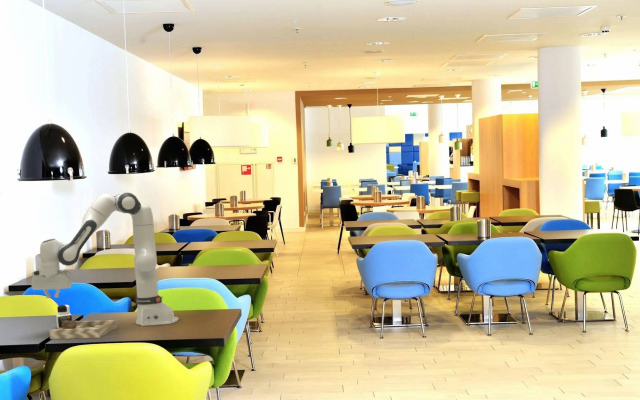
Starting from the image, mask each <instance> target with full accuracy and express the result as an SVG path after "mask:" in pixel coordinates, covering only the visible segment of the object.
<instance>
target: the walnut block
mask: <svg viewBox="0 0 640 400" xmlns="http://www.w3.org/2000/svg"><path fill="white" fill-rule="evenodd" d="M76 321H77V320H73V319H72V321H65V322H63V323H62V329H76Z"/></svg>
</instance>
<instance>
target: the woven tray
mask: <svg viewBox="0 0 640 400" xmlns="http://www.w3.org/2000/svg"><path fill="white" fill-rule="evenodd" d="M116 325H117V324H116V320H115V319H113V320H111V319H109V320H108V319H107V320H76V329H58V328H57V329H52V328H51V329H49V331H48V332H49V339H50V340H59V339H60V340H65V339H68V340H70V338H71V339H97V338H98V339H99V338H101V337H104V336H105V335H107V334H109V333H111V332H113V331H114V330H116V329H117V326H116Z"/></svg>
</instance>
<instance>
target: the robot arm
mask: <svg viewBox="0 0 640 400" xmlns="http://www.w3.org/2000/svg"><path fill="white" fill-rule="evenodd" d="M116 211H118V212H120V213H123V214H129V215H130V216H131V219H132V237H133V239H132V240H133V247H134V258H133V263H134V273H135V283H136V285H135V286H136V307H137V313H136V314H137V315H136V321H135V324H136V325H140V327H141V326H142V327H145V326H147V327H148V326H161V325H171V324H174V323H176V322H178V321H179V319H180V318H179V317H178V316H175V313H174V310H173V308H171V306H168V305H167V304H166V303H164V302H163V296H160V295H159V289H158V287H159V285H158V277H157V270H156V269H157V268H156V267H157V264H158V259H157V258H158V257H157V247H156V238H155V223H154V217H153V212H152V207H151V206H150V205H148V204H145V203H141V202H140V201H139V199H138V197H137V196H136V195H135V194H134V193H132V192H127V191H126V192H125V191H124V192H121V193H119V194H117V195H114V196H113V195H112V194H109V193H102V194H100V195H99V196H98V197H96V198H95V200H94V201H93V202H92V203H91V205H90V206H89V207H88V208H87V210H86V211H85V213H84V215H83V216H82V221H81V226H80V228H79V230H78V231H77V232H76V234H75V235H74V237H73V238H72V240H70V242H68V243H65V242H62V241H59V240H58V239H56V238H49V239H46V240H44V241H42V242H41V244H40V247H39V252H40V253H39V255H40V256H39V257H40V261H41V265H40V268H39V269H37V270H33V271H32V272H31V276H32V278H31V288H32V290H33V291H36V290H37V291H38V290H39V291H40V290H43V293H44V294H45V295H46V296H45V297H46V299H50V298H52V296H51V295H52V294H51V293H49V290H55V292H56V293H54V296H53V297H54V298H56V299H57V298H59V297H60V295H59V294H60V292H61V290H62V289H63V290H64V289H70V288H71V287H72V281H71V280H72V279H71V272H70V271H68V270H66V269H65V270H63V269H62V270H61V269H60V264H61V265H63V266H67V267H68V266H69V267H70V266H73V265H75V264H76V263H77V262H78V260H79V258H80V253H81V250H82V249H83V247H84V246H85V245H86V243H87V242H88V240H89V239H90V238H91V236H92V235H93V234H94V233H95V232H96V231H98V229H100V228H101V227H102V226H103V225H104V224H105V222H107V220H108V219H109V217H110V216H111V215H112V214H113V213H114V212H116Z"/></svg>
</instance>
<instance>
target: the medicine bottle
mask: <svg viewBox="0 0 640 400" xmlns="http://www.w3.org/2000/svg"><path fill="white" fill-rule="evenodd" d="M56 309H57V313H56V315H55V320H56V328H57V329H62V323H63V322H65V321H73V316H72V314H71V312H70V305H68V304H61V305H57V308H56Z"/></svg>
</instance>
